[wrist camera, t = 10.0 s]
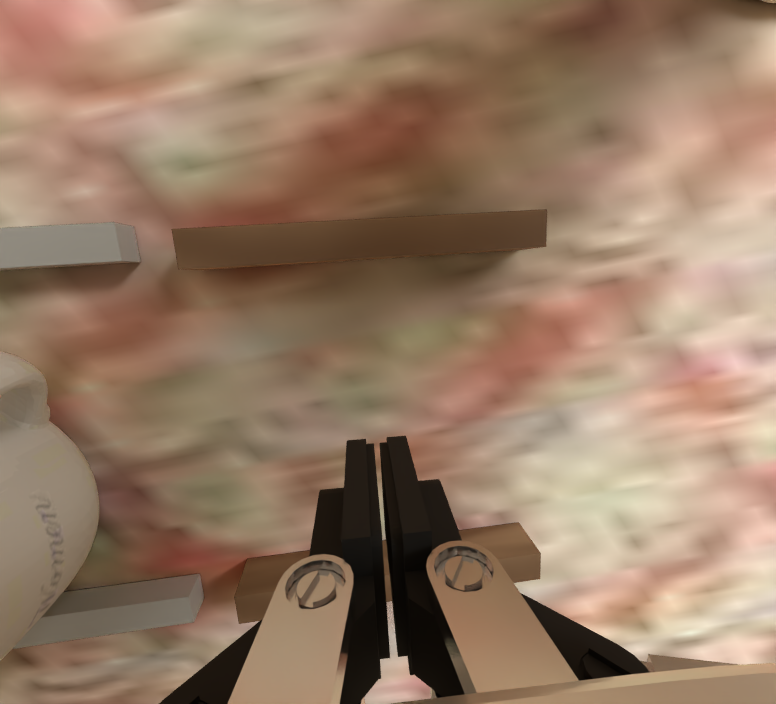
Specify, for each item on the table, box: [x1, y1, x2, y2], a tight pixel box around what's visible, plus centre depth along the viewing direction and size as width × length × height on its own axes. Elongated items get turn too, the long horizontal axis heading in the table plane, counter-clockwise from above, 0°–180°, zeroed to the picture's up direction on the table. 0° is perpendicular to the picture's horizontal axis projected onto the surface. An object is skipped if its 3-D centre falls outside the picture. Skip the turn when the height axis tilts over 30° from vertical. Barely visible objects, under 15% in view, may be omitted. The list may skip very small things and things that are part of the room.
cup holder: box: [172, 209, 547, 624], centre depth 19 cm, size 18×15×2 cm
